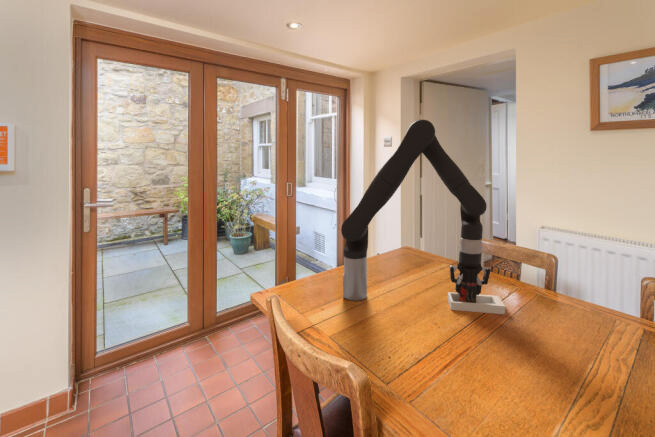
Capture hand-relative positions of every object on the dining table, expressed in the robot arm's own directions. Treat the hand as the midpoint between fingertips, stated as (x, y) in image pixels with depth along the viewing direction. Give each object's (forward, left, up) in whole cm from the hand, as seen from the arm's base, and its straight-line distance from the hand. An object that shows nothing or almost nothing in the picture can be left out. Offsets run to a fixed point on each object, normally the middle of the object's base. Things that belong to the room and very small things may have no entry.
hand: (467, 293), depth 118 cm
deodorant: (0, 0, -5) cm, 5 cm away
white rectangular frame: (+3, 0, -5) cm, 6 cm away
